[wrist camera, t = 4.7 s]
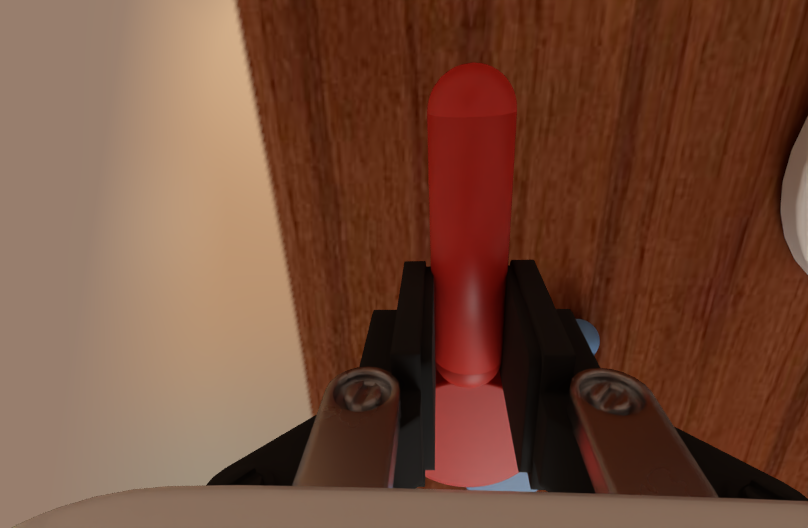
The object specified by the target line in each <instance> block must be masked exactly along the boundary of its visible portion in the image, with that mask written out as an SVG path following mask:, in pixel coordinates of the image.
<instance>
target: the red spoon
mask: <svg viewBox="0 0 808 528" xmlns="http://www.w3.org/2000/svg"><path fill="white" fill-rule="evenodd" d="M516 119H517V101H516V96H515V92H514V90H513V88H512V86H511V84H510V82H509V81H508V79H507V78H506V77H505V75H503V74H502V73H501V72H500V71H499V70H497V69H495V68H494V67H492V66H490V65H486V64H483V63H466V64H462V65H459V66H456V67H454V68H453V69H451V70H449V71H448V72H446V73H445V74H444V75H443V76H442V77H441V78H440V79H439V80H438V82H437V83H436V84H435V86H434V88H433V90H432V92H431V94H430V97H429V101H428V108H427V127H428V169H429V211H430V253H431V272H432V274H433V275H434V321H435V365H436V402H435V470H425V477H427V478H429V479H431V480H434V481H437V482H439V483H443V484H447V485H451V486H457V487H480V486H487V485H492V484H495V483H499V482H502V481H504V480H506V479H509V478H511V477H512V476H514V475H516V474H517V473H519V471H518V468H517V462H516V457H515V452H514V446H513V441H512V436H511V430H510V425H509V419H508V414H507V409H506V403H505V398H504V392H503V387H502V382H501V376H500V371H499V369H500V367H501V361H502V344H503V326H504V308H505V290H506V274H507V272H508V258H509V241H510V223H511V206H512V188H513V171H514V153H515V136H516Z"/></svg>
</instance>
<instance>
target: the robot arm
mask: <svg viewBox="0 0 808 528" xmlns="http://www.w3.org/2000/svg"><path fill="white" fill-rule="evenodd" d="M780 213H781V219H782V225H783V232H784V237H785V240H786V242H787V244H788V246H789V248H790V251H791V253H792V255H793V257H794V259H795V261H796V262H797V263H798V264H799V265H800V266H801V268H802V269H803V270H804V271H805V272H806V274H807V275H808V117H807V119H806V121H805V123H804V125H803V127H802V129H801V131H800V133H799V135H798V138H797V140H796V142H795V144H794V146H793V148H792V150H791V154H790V157H789V161H788V164H787V168H786V171H785V175H784V179H783V182H782V195H781V208H780ZM499 371H500V376H501V382H502V387H503V392H504V398H505V403H506V409H507V414H508V419H509V425H510V430H511V436H512V441H513V446H514V452H515V457H516V462H517V468H518V471H519V472H527V474H528V479H529V484H530V488H531V490H546V491H548V492H520V491H484V490H447V489H416V488H417V487H425V470H435V402H436V365H435V321H434V275H433V274H432V272H431V267H426V261H410V262H405V263H404V269H403V275H402V281H401V288H400V294H399V300H398V307H397V310H374V311H373V314H372V318H371V322H370V326H369V330H368V334H367V339H366V343H365V347H364V351H363V355H362V359H361V363H360V367H357V368H354V369H350V370H347V371H345V372H343V373H341V374H339V375H337V376H336V377H335V378H334V379H333V380H332V381H331V382H330V383H329V385H328V387H327V388H326V390H325V393H324V396H323V399H322V402H321V405H320V407H319V410H318V413H317V415H315V416H314V417H312V418H310V419H308V420H307V421H305V422H303V423H302V424H300V425H298V426H297V427H295V428H293V429H291V430H290V431H288V432H286V433H285V434H283V435H281V436H279V437H278V438H276V439H274V440H273V441H271V442H269V443H267V444H266V445H264V446H263V447H261V448H259V449H257V450H256V451H254V452H252V453H250V454H249V455H247V456H245V457H244V458H242V459H240V460H238V461H237V462H235V463H233V464H232V465H230V466H228V467H227V468H225V469H224V470H222V471H221V472H219V473H218V474H217V475H215V476H214V477H213V478H212V479H211V480H210V481H209V483H208V484H207V485H206V486H167V487H155V488H144V489H133V490H128V491H123V492H117V493H112V494H106V495H101V496H96V497H92V498H90V499H86V500H82V501H79V502H76V503H72V504H69V505H65V506H62V507H59V508H56V509H53V510H51V511H48V512H45V513H43V514H40V515H38V516H36V517H33V518H31V519H29V520H26V521H24V522H22V523H20V524H18V525H16V526H14V527H12V528H808V499H807V498H806V497H805V496H804V495H802V494H801V493H800V492H798V491H797V490H795V489H793V488H792V487H790V486H788V485H787V484H785V483H783V482H782V481H780V480H778V479H776V478H774V477H772V476H770V475H768V474H766V473H764V472H762V471H760V470H758V469H756V468H754V467H752V466H750V465H748V464H746V463H744V462H742V461H740V460H739V459H737V458H735V457H733V456H731V455H729V454H727V453H725V452H723V451H721V450H719V449H717V448H715V447H713V446H711V445H709V444H707V443H705V442H703V441H701V440H699V439H697V438H695V437H693V436H691V435H690V434H688V433H686V432H684V431H682V430H680V429H678V428H676V427H674V426H673V425H672V423H671V422H670V420H669V418H668V417H667V415H666V414H665V412H664V411H663V409H662V407H661V406H660V404H659V403H658V401H657V400H656V398H655V396H654V395H653V393H652V392H651V391H650V390H649V389H648V387H647V386H646V385H645V384H643V383H642V382H640V381H639V380H638V379H636V378H635V377H632V376H630V375H628V374H626V373H624V372H620V371H616V370H613V369H605V368H600V367H599V365H598V363H597V361H596V359H595V357H594V355H593V353H592V351H591V349H590V347H589V345H588V343H587V341H586V339H585V337H584V335H583V333H582V331H581V329H580V327H579V325H578V323H577V321H576V319H575V317H574V315H573V313H572V311H571V310H570V309H555V306H554V304H553V302H552V300H551V297H550V295H549V293H548V291H547V288H546V286H545V284H544V282H543V279H542V277H541V275H540V273H539V270H538V268H537V266H536V264H535V261H534V260H511V262H510V266H508V272H507V274H506V290H505V308H504V326H503V344H502V361H501V367H500V369H499Z"/></svg>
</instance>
